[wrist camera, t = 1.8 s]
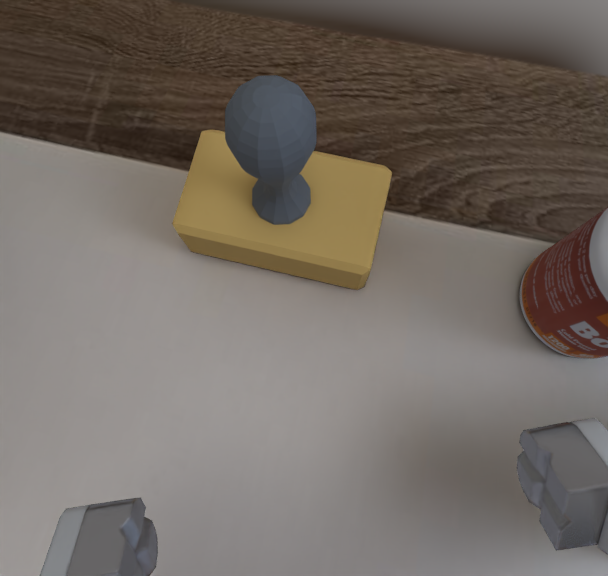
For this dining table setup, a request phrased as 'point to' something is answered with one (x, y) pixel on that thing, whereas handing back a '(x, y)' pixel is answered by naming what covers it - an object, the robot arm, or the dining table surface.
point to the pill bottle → (571, 292)
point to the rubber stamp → (281, 192)
